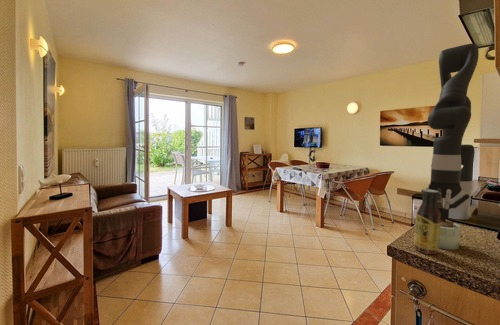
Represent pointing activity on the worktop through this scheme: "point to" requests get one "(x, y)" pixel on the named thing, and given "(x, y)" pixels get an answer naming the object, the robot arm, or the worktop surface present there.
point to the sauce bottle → (428, 223)
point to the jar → (449, 237)
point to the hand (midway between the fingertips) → (442, 218)
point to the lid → (446, 223)
